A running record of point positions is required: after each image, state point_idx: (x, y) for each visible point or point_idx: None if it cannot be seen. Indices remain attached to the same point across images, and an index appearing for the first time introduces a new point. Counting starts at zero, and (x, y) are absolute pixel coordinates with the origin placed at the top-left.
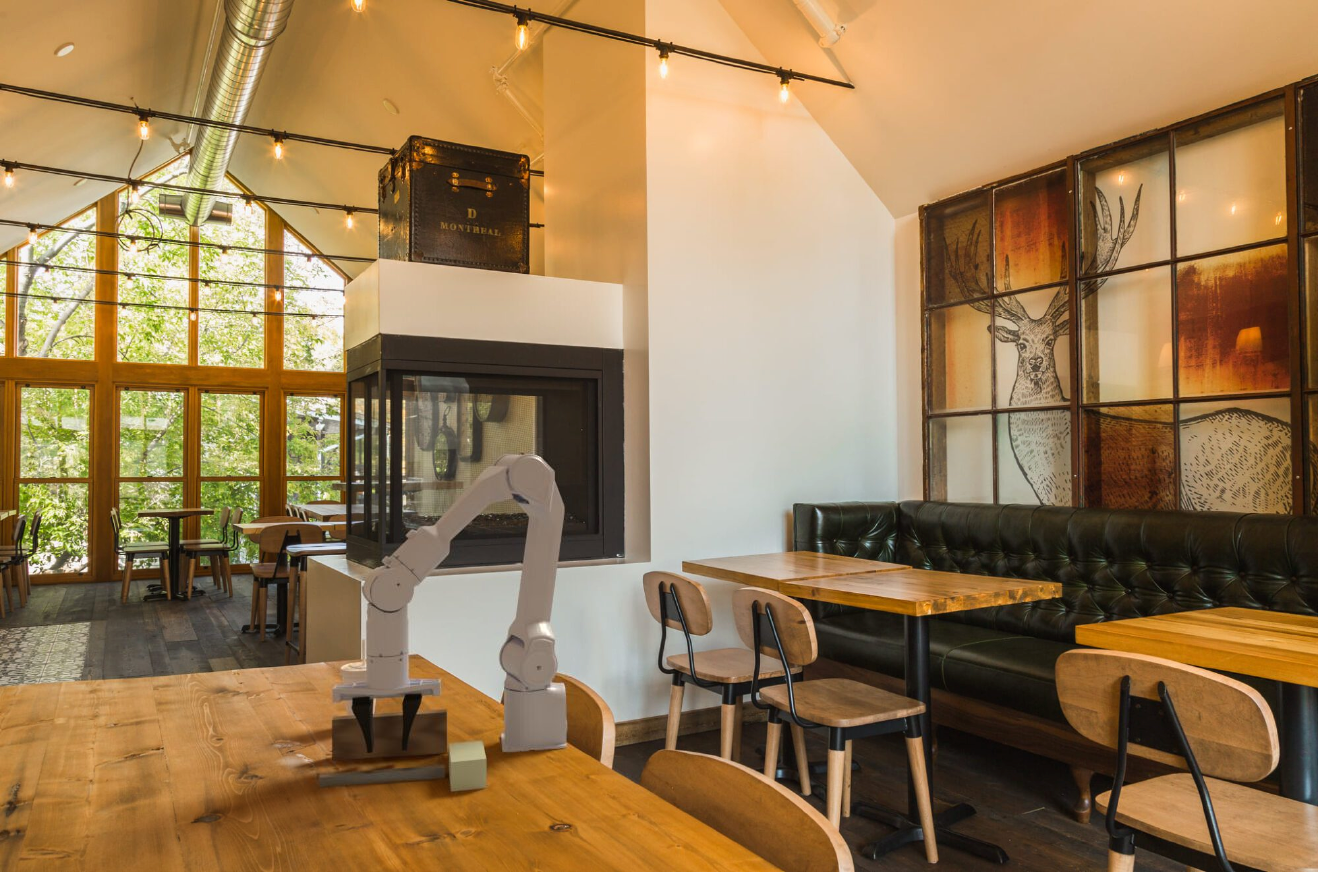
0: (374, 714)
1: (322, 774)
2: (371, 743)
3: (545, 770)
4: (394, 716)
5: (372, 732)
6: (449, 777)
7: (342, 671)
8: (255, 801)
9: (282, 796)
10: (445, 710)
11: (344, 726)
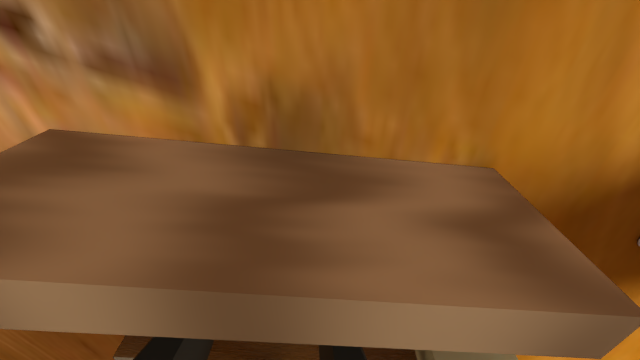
0: (120, 295)
1: (119, 357)
2: (208, 353)
3: (623, 348)
4: (277, 338)
5: (190, 354)
6: (418, 354)
7: None
8: (17, 341)
9: (64, 335)
10: (617, 336)
11: None
